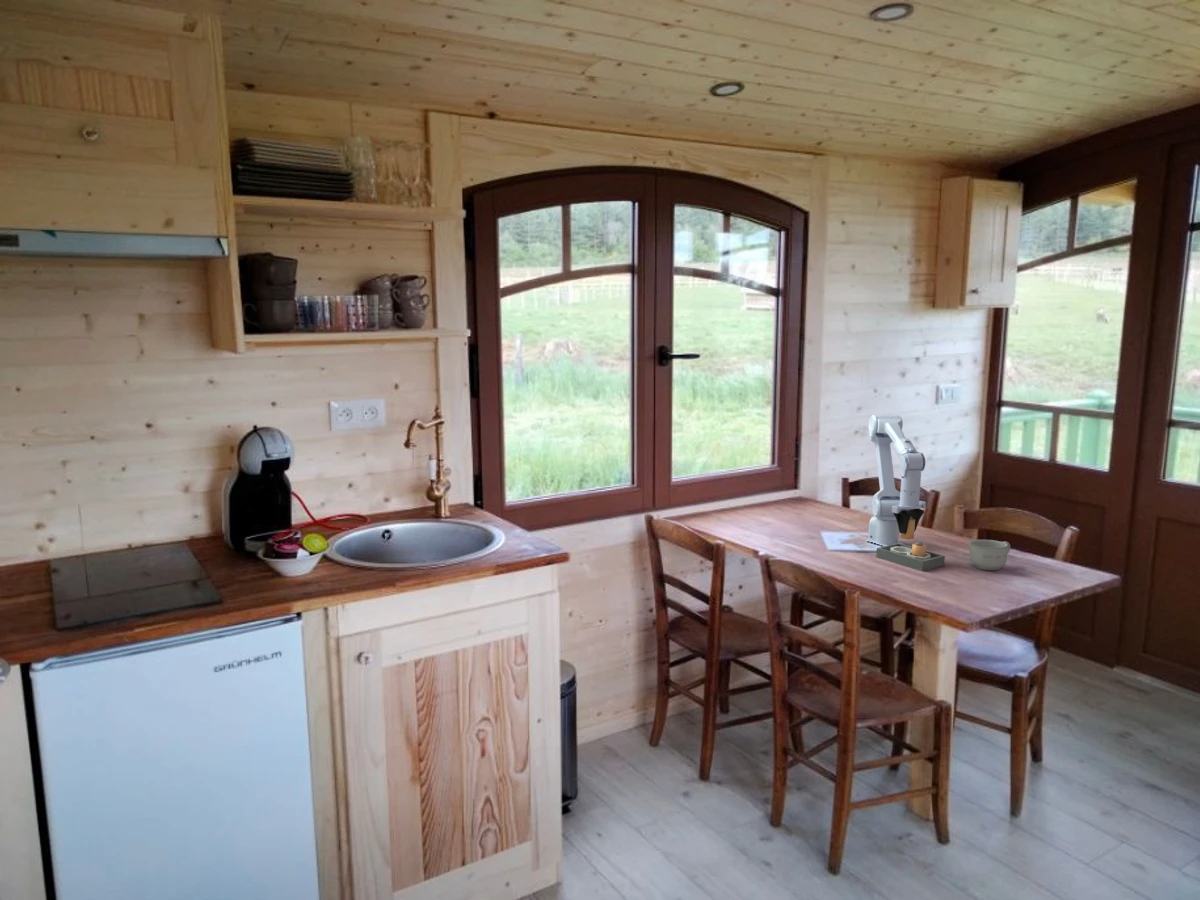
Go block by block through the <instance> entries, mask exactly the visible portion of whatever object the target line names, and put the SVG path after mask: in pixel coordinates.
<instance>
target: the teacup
mask: <svg viewBox="0 0 1200 900" xmlns="http://www.w3.org/2000/svg"><path fill="white" fill-rule="evenodd" d="M968 544H969V547H968V548H969V550H968V551H969V553H968V555H969V561H970V563H971V564H972V565H973V566H974V567H975V568H977V569H979V570H982V571H983V570H984V571H998V570H1000V569H1001V568H1003V567H1005V565H1006V563H1007V560H1008V554H1009V553H1010V551H1011V544H1010V543H1009V542H1008V541H999V540H994V539H973V540H970V541H969V542H968Z"/></svg>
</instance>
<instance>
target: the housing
mask: <svg viewBox="0 0 1200 900" xmlns="http://www.w3.org/2000/svg"><path fill="white" fill-rule="evenodd" d="M901 543H902V542H901ZM901 543H896V544H892V545H888V546H879V547H876V554H875V557H876V558H878V559H881V560H885V561H889V562H891V563H894V562H895V563H894V564H897V563H898V565H900V566H905V567H908V568H910V567H911V569H914V568H915V569H914V570H917V569H918V570H917V571H921V572H925V571H927V570H931V568H932V569H935V567H936V568H940V567H943V566H945V560H946V556H945V555H942V554H939V553H936V552H932V551H929V550H927V545H926V544H924V542H923V541H916V542H915V543H912V544H911V545H907V544H905V543H904V544H901Z"/></svg>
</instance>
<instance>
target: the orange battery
mask: <svg viewBox="0 0 1200 900" xmlns="http://www.w3.org/2000/svg"><path fill="white" fill-rule="evenodd" d="M914 530H915V519H913V518H912V516H911V517H910V519H909V523H908V528H907V533H906V534H903V533H900V538H901V539H904V540H913V539H914V538H915V532H914ZM915 531H916V530H915Z"/></svg>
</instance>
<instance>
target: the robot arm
mask: <svg viewBox="0 0 1200 900" xmlns="http://www.w3.org/2000/svg"><path fill="white" fill-rule="evenodd" d="M868 435H869V440H870V441H871V442H872V443H874V448H875V456H876V457H875V458H876V466H877V473H878V483H879V490H878V491H877V492H876V493H875V494H874V495H873V497H872V504H871V505H872V506H871V507H872V508H871V509H872V511H871V512H872V516H871V518H870V520H869V522H868V536H867V539H866V540H865V541H866V542H867V541H870V542H873V543H872V544H874V543H876V544H875V545H877V544H881V545H883V546H888V545H892V544H896V543H901V544H904V545H905V543H904V542H901V541H899V536H900V534H901V533H903V534H906V533H907V528H908V523H909V519H910V517H911V516H912V518H913V519H915V530H914V533H915V532H916V530H917V528H918V526H919V525H918V524H919V521H920V519H921V517H922V516H923V515H924V513H925V510H924V509H925V508H926V506H927V505H926V504H927V502H926V501H923V500H920V496H921V495H920V493H921V482H922V481H921V479H922V472H923V471H924V470H925V468H926V457H925V454H924V453H923V452H920V451H917V449H916V448H915V446H914V445H913V443H912V441H911V440H910V439H909V438H906V437H905V435H904V432H903V418H902V417H901V415H899V414H896V415H890V414H889V415H883V414H882V415H881V414H880V415H878V414H872V415H871V416H870V417H869V419H868ZM892 443H894V444H893V450H894V452H895V454H896V456H897V457H898V460H899V461H898V464H899V465H898V466H899V473H900V474H899V475H900V476H901V480H900V490H898V489H897V488H896V483H895V476H894V467H893V460H892V459H893V457H892V449H891V444H892ZM870 542H869V543H870ZM881 545H880V546H881ZM883 546H882V547H883Z"/></svg>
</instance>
